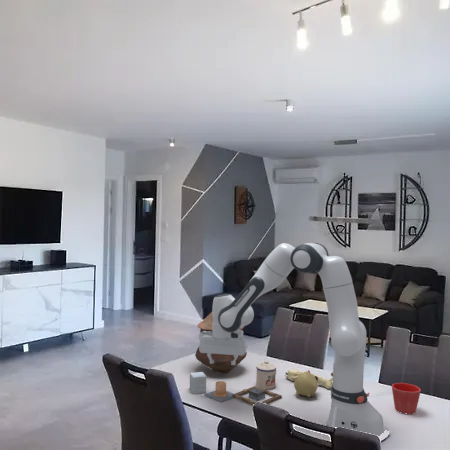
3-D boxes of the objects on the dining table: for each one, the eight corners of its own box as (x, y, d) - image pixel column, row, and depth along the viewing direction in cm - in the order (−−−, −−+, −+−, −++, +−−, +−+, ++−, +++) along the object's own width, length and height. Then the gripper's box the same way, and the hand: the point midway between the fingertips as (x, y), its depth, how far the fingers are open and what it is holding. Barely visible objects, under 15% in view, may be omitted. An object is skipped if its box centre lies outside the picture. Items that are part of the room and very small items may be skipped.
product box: (202, 387, 210) (203, 371, 210) (206, 392, 204) (206, 376, 204) (189, 389, 208) (189, 372, 208) (192, 394, 202) (193, 377, 202)
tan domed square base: (225, 397, 198) (225, 385, 198) (213, 396, 199) (213, 384, 199) (228, 392, 203) (228, 381, 203) (216, 391, 205) (217, 379, 205)
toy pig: (321, 393, 207) (322, 369, 207) (312, 402, 197) (313, 377, 196) (300, 389, 212) (301, 365, 212) (290, 397, 202) (291, 372, 201)
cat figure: (338, 389, 217) (289, 374, 230) (340, 371, 216) (291, 356, 230) (331, 396, 208) (280, 379, 222) (333, 377, 208) (282, 361, 221)
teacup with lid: (267, 391, 208) (268, 365, 207) (251, 386, 214) (252, 360, 213) (283, 384, 217) (284, 359, 216) (267, 379, 223) (268, 355, 222)
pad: (236, 396, 201) (237, 394, 201) (220, 402, 194) (220, 401, 194) (220, 389, 208) (220, 388, 208) (204, 395, 201) (204, 394, 201)
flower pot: (396, 403, 198) (397, 380, 198) (423, 410, 191) (424, 387, 191) (387, 410, 190) (387, 387, 190) (414, 418, 183) (415, 394, 183)
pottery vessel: (230, 383, 217) (231, 318, 216) (184, 372, 229) (186, 311, 229) (254, 368, 239) (256, 309, 238) (212, 359, 252) (213, 303, 251)
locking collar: (281, 398, 200) (281, 394, 200) (259, 407, 189) (259, 404, 189) (254, 388, 211) (254, 385, 211) (232, 397, 200) (232, 393, 200)
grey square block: (265, 397, 200) (265, 390, 200) (257, 401, 197) (258, 393, 196) (256, 394, 204) (256, 387, 204) (248, 397, 200) (248, 390, 200)
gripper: (197, 332, 200) (197, 364, 200) (244, 334, 195) (244, 368, 195) (201, 329, 206) (201, 360, 206) (247, 331, 201) (247, 363, 201)
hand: (222, 364), depth 201 cm, fingers open, 8 cm apart
